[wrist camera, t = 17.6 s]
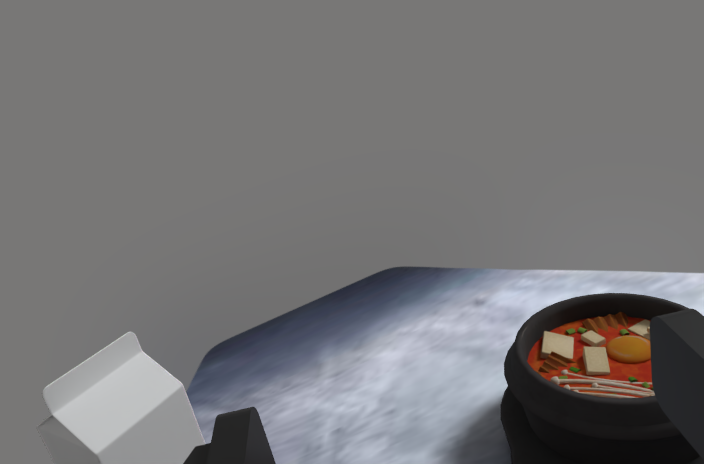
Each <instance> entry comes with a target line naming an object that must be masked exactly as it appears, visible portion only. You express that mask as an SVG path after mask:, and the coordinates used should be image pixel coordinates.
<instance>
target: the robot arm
mask: <svg viewBox="0 0 704 464" xmlns="http://www.w3.org/2000/svg"><path fill="white" fill-rule="evenodd" d="M650 349H651V373H652V385H653V390H654V393H655V396H656V399H657V401H658V403H659V405H660V407H661V409H662V410H663V412H664V413H665V414H666V416H667V417H668V418H669V419H670V420H671V422H672V423H673V424H674V425H675V426H676V428H677V429H678V430H679V431H680V432H681V434H682V435H683V436H684V437H685V438H686V440H687V441H688V442H689V443H690V444H691V445H692V447H693V448H694V449H695V450H696V451H697V453H698V454H699V455H700V456H701V457H702V459H703V460H704V316H703V315H701V314H700V313H699V312H698V311H696V310H694V309H687V310H683V311H678V312H674V313H669V314H665V315H661V316H656V317H653V318H652V319H651V321H650ZM183 464H275V461H274V458H273V455H272V452H271V449H270V446H269V443H268V440H267V437H266V434H265V431H264V428H263V425H262V422H261V419H260V416H259V414H258V412H257V410H256V408H255V407H250V408H246V409H242V410H237V411H233V412H228V413H224V414H220V415H218V416H217V417H216V420H215V425H214V430H213V435H212V440H211V443H209V444H204V445H200V446H195V448H194V449H193V450H192V452H191V453H190V455H189V456H188V458H187V459H186V460H185V462H184V463H183Z"/></svg>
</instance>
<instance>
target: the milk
mask: <svg viewBox="0 0 704 464" xmlns="http://www.w3.org/2000/svg"><path fill="white" fill-rule="evenodd" d="M42 396H43V399H44V401H45V403H46V405H47V407H48V409H49V411H50V415H49V416H48V417H47V418H46V419H44V420H43V421H42V422H41V423H40V424H38V425H37V426H36V428H37V430H38V432H39V434H40V436H41V438H42V440H43V442H44V444H45V446H46V448H47V450H48V452H49V454H50V456H51V458H52V460H53V462H54V464H183V463H184V462H185V460H186V459H187V458H188V456H189V455H190V453H191V452H192V450H193V449H194V448H195V446H200V445H204V444H205V441H204V439H203V436H202V433H201V431H200V428H199V426H198V423H197V420H196V418H195V415H194V412H193V410H192V407H191V404H190V402H189V399H188V397H187V394H186V391H185V389H184V386H183V384H182V383H181V382H180V381H179V380H177V379H176V378H175V377H174V376H172V375H171V374H170V373H169V372H168V371H166V370H165V369H164V368H162V367H161V366H160V365H159V364H158V363H156V362H155V361H154V360H153V359H151V358H150V357H149V356H148V355H147V354H145V353H144V352H143V351H142V349H141V347H140V344H139V342H138V339H137V337H136V335H135V333H133V332H127V333H126V334H124V335H123V336H121V337H120V338H118V339H117V340H116V341H114V342H112V343H111V344H109V345H108V346H106V347H105V348H103V349H102V350H100V351H99V352H97V353H96V354H94V355H93V356H91V357H90V358H88V359H87V360H85V361H84V362H82V363H81V364H79V365H78V366H77V367H75V368H73V369H72V370H70V371H69V372H67V373H66V374H64V375H63V376H61V377H60V378H58V379H57V380H55V381H54V382H52V383H51V384H49V385H48V386H46V387H45V388H44V390H43V393H42Z"/></svg>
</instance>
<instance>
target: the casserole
mask: <svg viewBox="0 0 704 464" xmlns="http://www.w3.org/2000/svg"><path fill="white" fill-rule="evenodd" d="M687 309H689V308H687V307H684V306H682V305H680V304H677V303H674V302H671V301H668V300H665V299H660V298H655V297H651V296H646V295H637V294H627V293H605V294H593V295H586V296H580V297H575V298H571V299H567V300H564V301H561V302H558V303H555V304H553V305H551V306H548V307H546V308H544V309H542V310H541V311H539V312H537V313H536V314H534V315H533V316H531V317H530V318H529V319H528V320H527V321H526V322H525V323H524V324H523V325H522V327H521V328H520V330H519V331H518V333H517V336H516V339H515V342H514V343H513V345H512V346H511V348H510V349H509V351H508V353H507V356H506V359H505V362H504V375H505V378H506V381H507V384H508V387H507V389H506V390H505V392H504V396H503V399H502V402H501V421H502V424H503V427H504V430H505V433H506V436H507V439H508V442H509V445H510V448H511V458H512V464H704V460H703V459H702V457H701V456H700V455H699V454H698V453H697V451H696V450H695V449H694V448H693V447H692V445H691V444H690V443H689V442H688V441H687V440H686V438H685V437H684V436H683V435H682V434H681V432H680V431H679V430H678V429H677V428H676V426H675V425H674V424H673V423H672V422H671V420H670V419H669V418H668V417H667V416H666V414H665V413H664V412H663V410H662V409H661V407H660V405H659V403H658V401H657V399H656V396H655V393H654V390H653V385H652V373H651V349H650V321H651V319H652V318H653V317H656V316H661V315H665V314H669V313H674V312H678V311H683V310H687Z"/></svg>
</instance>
